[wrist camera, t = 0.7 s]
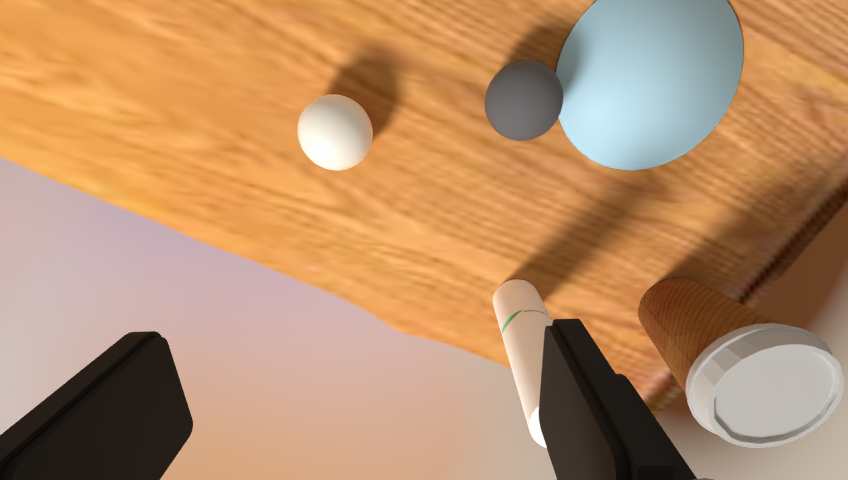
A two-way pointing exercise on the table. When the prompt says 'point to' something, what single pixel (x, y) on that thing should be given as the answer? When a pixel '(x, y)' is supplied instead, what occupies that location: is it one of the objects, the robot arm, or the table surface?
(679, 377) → the disposable coffee cup
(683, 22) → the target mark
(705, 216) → the table surface
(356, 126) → the cue ball
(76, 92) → the table surface
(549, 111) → the object ball
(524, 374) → the tube
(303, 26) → the table surface
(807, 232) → the table surface
